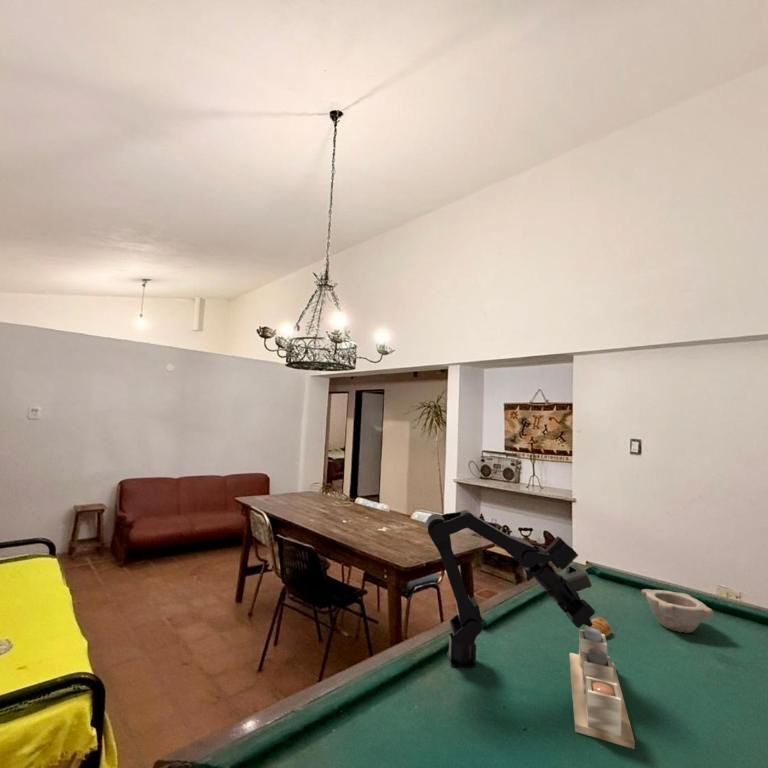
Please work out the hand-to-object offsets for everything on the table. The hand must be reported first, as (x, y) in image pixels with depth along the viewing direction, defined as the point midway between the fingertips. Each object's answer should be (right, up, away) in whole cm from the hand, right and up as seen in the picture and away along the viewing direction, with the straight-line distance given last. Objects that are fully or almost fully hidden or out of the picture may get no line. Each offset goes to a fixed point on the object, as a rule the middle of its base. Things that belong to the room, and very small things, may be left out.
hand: (591, 625), depth 114 cm
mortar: (+42, -16, +28) cm, 53 cm away
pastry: (+12, -14, +20) cm, 27 cm away
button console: (-4, -10, -12) cm, 17 cm away
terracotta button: (-9, -5, -23) cm, 25 cm away
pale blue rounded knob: (0, -6, -1) cm, 6 cm away
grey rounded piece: (-4, -5, -12) cm, 13 cm away
